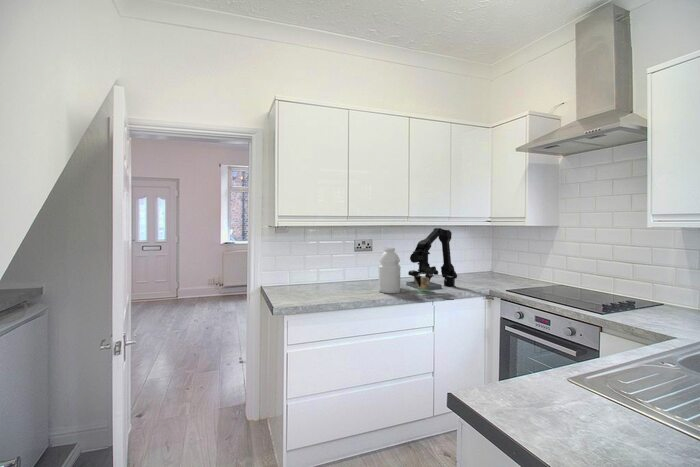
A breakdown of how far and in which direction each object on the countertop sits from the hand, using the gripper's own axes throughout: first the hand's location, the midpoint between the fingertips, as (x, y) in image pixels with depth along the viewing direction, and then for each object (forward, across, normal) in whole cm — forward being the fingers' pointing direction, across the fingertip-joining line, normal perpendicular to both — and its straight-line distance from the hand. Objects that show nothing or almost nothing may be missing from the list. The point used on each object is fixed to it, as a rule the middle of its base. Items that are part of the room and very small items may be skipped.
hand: (423, 286), depth 212 cm
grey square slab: (+4, +10, +14) cm, 18 cm away
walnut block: (+3, +10, +20) cm, 22 cm away
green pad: (+4, 0, 0) cm, 4 cm away
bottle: (+4, -18, +10) cm, 22 cm away
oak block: (+2, 0, 0) cm, 2 cm away
